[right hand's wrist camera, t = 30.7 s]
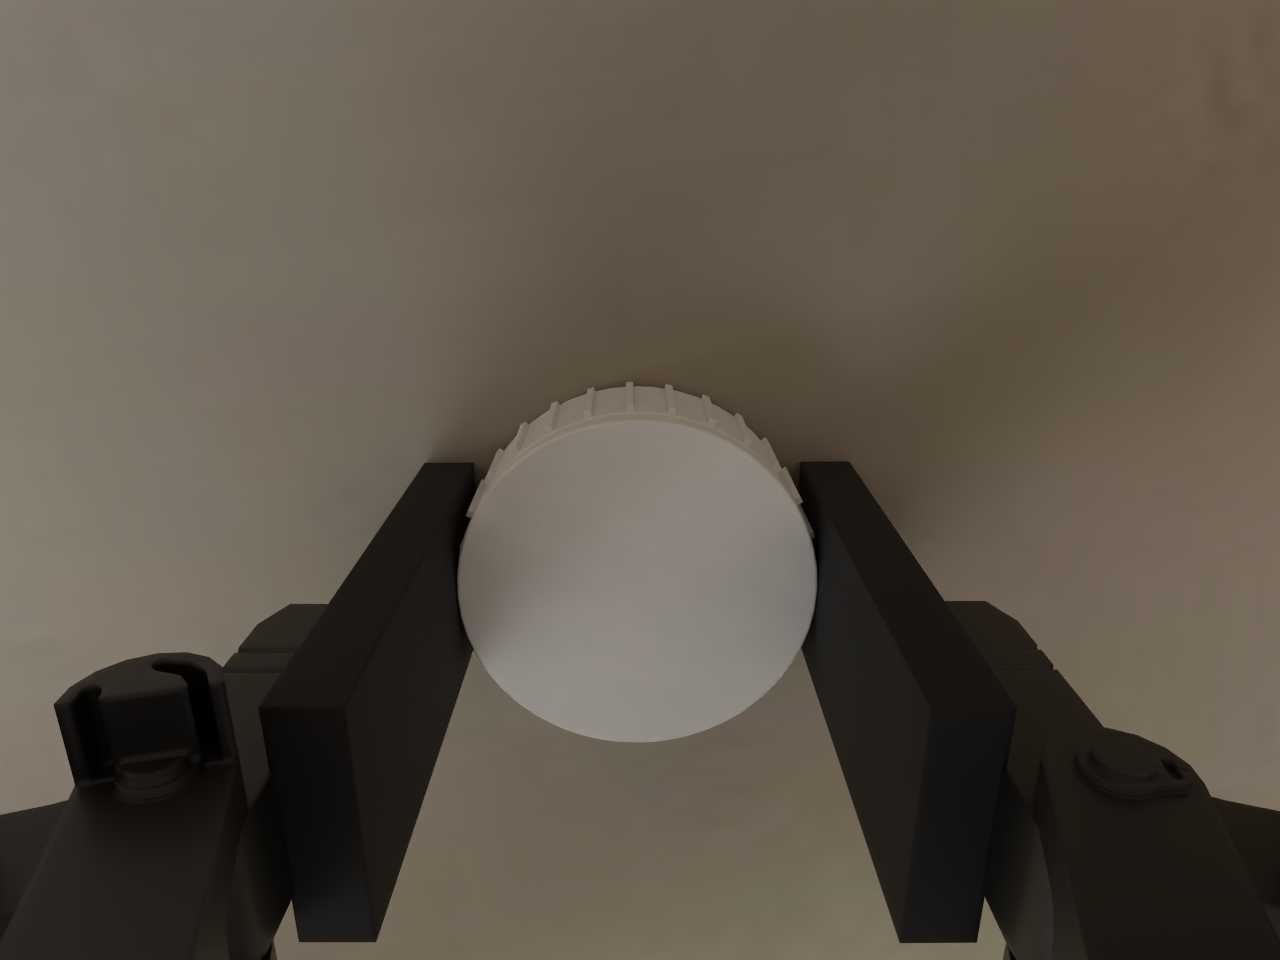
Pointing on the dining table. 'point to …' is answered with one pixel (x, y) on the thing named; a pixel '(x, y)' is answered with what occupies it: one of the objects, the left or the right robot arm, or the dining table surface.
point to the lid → (637, 566)
